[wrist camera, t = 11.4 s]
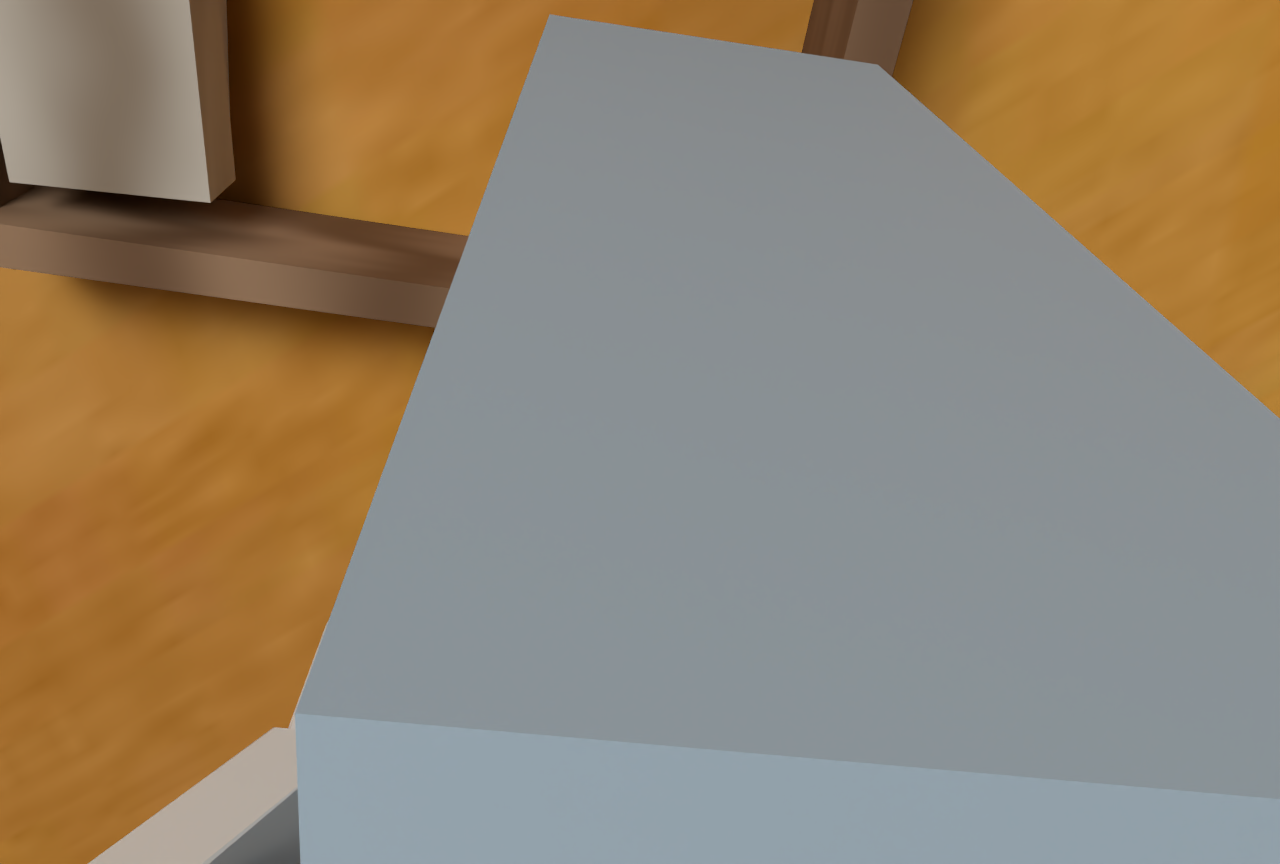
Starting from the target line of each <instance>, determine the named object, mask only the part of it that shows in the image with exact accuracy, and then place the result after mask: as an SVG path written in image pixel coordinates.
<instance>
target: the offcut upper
mask: <svg viewBox="0 0 1280 864" xmlns="http://www.w3.org/2000/svg"><path fill="white" fill-rule="evenodd" d="M0 139H1V144H2V149H3V153H4V158H5V163H6V168H7V173H8V177H9V182H12V183H22V184H32V185H42V186H51V187H61V188H71V189H81V190H90V191H100V192H110V193H119V194H129V195H139V196H149V197H158V198H168V199H178V200H188V201H197V202H207V203H211V202H212V201H213V200H214V199H215V198H216V197H217V196H219V195H220V194H221V193H222V192H223V191H224V190H225V189H226V188H227V187H228V186H230V185H231V184H232V183H233V182H234V181H235V180H236V177H235V166H234V155H233V144H232V133H231V122H230V112H229V101H228V90H227V79H226V68H225V57H224V46H223V35H222V24H221V13H220V2H219V0H0Z"/></svg>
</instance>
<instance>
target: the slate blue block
mask: <svg viewBox="0 0 1280 864" xmlns="http://www.w3.org/2000/svg"><path fill="white" fill-rule="evenodd" d="M295 729H296V757H297V784H298V811H299V838H300V864H1280V419H1279V418H1278V417H1277V416H1276V415H1275V414H1274V413H1273V412H1271V411H1270V410H1269V409H1268V408H1267V407H1266V406H1265V405H1264V404H1262V403H1261V402H1260V401H1259V400H1258V399H1257V398H1256V397H1254V396H1253V395H1252V394H1251V393H1250V392H1249V391H1248V390H1246V389H1245V388H1244V387H1243V386H1242V385H1241V384H1240V383H1239V382H1237V381H1236V380H1235V379H1234V378H1233V377H1232V376H1231V375H1229V374H1228V373H1227V372H1226V371H1225V370H1224V369H1223V368H1222V367H1220V366H1219V365H1218V364H1217V363H1216V362H1215V361H1214V360H1212V359H1211V358H1210V357H1209V356H1208V355H1207V354H1206V353H1204V352H1203V351H1202V350H1201V349H1200V348H1199V347H1198V346H1197V345H1195V344H1194V343H1193V342H1192V341H1191V340H1190V339H1189V338H1187V337H1186V336H1185V335H1184V334H1183V333H1182V332H1181V331H1180V330H1178V329H1177V328H1176V327H1175V326H1174V325H1173V324H1172V323H1170V322H1169V321H1168V320H1167V319H1166V318H1165V317H1164V316H1163V315H1161V314H1160V313H1159V312H1158V311H1157V310H1156V309H1155V308H1153V307H1152V306H1151V305H1150V304H1149V303H1148V302H1147V301H1145V300H1144V299H1143V298H1142V297H1141V296H1140V295H1139V294H1138V293H1136V292H1135V291H1134V290H1133V289H1132V288H1131V287H1130V286H1128V285H1127V284H1126V283H1125V282H1124V281H1123V280H1122V279H1121V278H1119V277H1118V276H1117V275H1116V274H1115V273H1114V272H1113V271H1111V270H1110V269H1109V268H1108V267H1107V266H1106V265H1105V264H1104V263H1102V262H1101V261H1100V260H1099V259H1098V258H1097V257H1096V256H1094V255H1093V254H1092V253H1091V252H1090V251H1089V250H1088V249H1086V248H1085V247H1084V246H1083V245H1082V244H1081V243H1080V242H1079V241H1077V240H1076V239H1075V238H1074V237H1073V236H1072V235H1071V234H1069V233H1068V232H1067V231H1066V230H1065V229H1064V228H1063V227H1062V226H1060V225H1059V224H1058V223H1057V222H1056V221H1055V220H1054V219H1052V218H1051V217H1050V216H1049V215H1048V214H1047V213H1046V212H1045V211H1043V210H1042V209H1041V208H1040V207H1039V206H1038V205H1037V204H1035V203H1034V202H1033V201H1032V200H1031V199H1030V198H1029V197H1027V196H1026V195H1025V194H1024V193H1023V192H1022V191H1021V190H1020V189H1018V188H1017V187H1016V186H1015V185H1014V184H1013V183H1012V182H1010V181H1009V180H1008V179H1007V178H1006V177H1005V176H1004V175H1003V174H1001V173H1000V172H999V171H998V170H997V169H996V168H995V167H993V166H992V165H991V164H990V163H989V162H988V161H987V160H985V159H984V158H983V157H982V156H981V155H980V154H979V153H978V152H976V151H975V150H974V149H973V148H972V147H971V146H970V145H968V144H967V143H966V142H965V141H964V140H963V139H962V138H961V137H959V136H958V135H957V134H956V133H955V132H954V131H953V130H951V129H950V128H949V127H948V126H947V125H946V124H945V123H944V122H942V121H941V120H940V119H939V118H938V117H937V116H936V115H934V114H933V113H932V112H931V111H930V110H929V109H928V108H926V107H925V106H924V105H923V104H922V103H921V102H920V101H919V100H917V99H916V98H915V97H914V96H913V95H912V94H911V93H909V92H908V91H907V90H906V89H905V88H904V87H903V86H902V85H900V84H899V83H898V82H897V81H896V80H895V79H894V78H892V77H891V76H890V75H889V74H888V73H887V72H886V71H885V70H883V69H882V68H881V67H880V66H879V65H877V64H870V63H864V62H857V61H851V60H844V59H838V58H831V57H825V56H818V55H812V54H805V53H798V52H792V51H785V50H779V49H772V48H766V47H759V46H753V45H746V44H740V43H733V42H726V41H720V40H713V39H707V38H700V37H694V36H687V35H681V34H674V33H668V32H661V31H654V30H648V29H641V28H635V27H628V26H622V25H615V24H609V23H602V22H596V21H589V20H582V19H576V18H569V17H563V16H556V15H549V18H548V21H547V23H546V26H545V29H544V31H543V34H542V37H541V40H540V42H539V45H538V48H537V51H536V53H535V56H534V59H533V62H532V64H531V67H530V70H529V73H528V75H527V78H526V81H525V84H524V86H523V89H522V92H521V95H520V97H519V100H518V103H517V106H516V108H515V111H514V114H513V117H512V119H511V122H510V125H509V127H508V130H507V133H506V136H505V138H504V141H503V144H502V147H501V149H500V152H499V155H498V158H497V160H496V163H495V166H494V169H493V171H492V174H491V177H490V180H489V182H488V185H487V188H486V191H485V193H484V196H483V199H482V202H481V204H480V207H479V210H478V213H477V215H476V218H475V221H474V223H473V226H472V229H471V232H470V234H469V237H468V240H467V243H466V245H465V248H464V251H463V254H462V256H461V259H460V262H459V265H458V267H457V270H456V273H455V276H454V278H453V281H452V284H451V287H450V289H449V292H448V295H447V298H446V300H445V303H444V306H443V309H442V311H441V314H440V317H439V320H438V322H437V325H436V328H435V330H434V333H433V336H432V339H431V341H430V344H429V347H428V350H427V352H426V355H425V358H424V361H423V363H422V366H421V369H420V372H419V374H418V377H417V380H416V383H415V385H414V388H413V391H412V394H411V396H410V399H409V402H408V405H407V407H406V410H405V413H404V416H403V418H402V421H401V424H400V426H399V429H398V432H397V435H396V437H395V440H394V443H393V446H392V448H391V451H390V454H389V457H388V459H387V462H386V465H385V468H384V470H383V473H382V476H381V479H380V481H379V484H378V487H377V490H376V492H375V495H374V498H373V501H372V503H371V506H370V509H369V512H368V514H367V517H366V520H365V522H364V525H363V528H362V531H361V533H360V536H359V539H358V542H357V544H356V547H355V550H354V553H353V555H352V558H351V561H350V564H349V566H348V569H347V572H346V575H345V577H344V580H343V583H342V586H341V588H340V591H339V594H338V597H337V599H336V602H335V605H334V608H333V610H332V613H331V616H330V618H329V621H328V624H327V627H326V629H325V632H324V635H323V638H322V640H321V643H320V646H319V649H318V651H317V654H316V657H315V660H314V662H313V665H312V668H311V671H310V673H309V676H308V679H307V682H306V684H305V687H304V690H303V693H302V695H301V698H300V701H299V704H298V706H297V709H296V712H295Z"/></svg>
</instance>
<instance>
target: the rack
mask: <svg viewBox="0 0 1280 864" xmlns="http://www.w3.org/2000/svg"><path fill="white" fill-rule="evenodd" d="M912 3H913V0H814V3H813V7H812V11H811V15H810V20H809V24H808V28H807V33H806V37H805V41H804V46H803V50H802V53H805V54H812V55H818V56H825V57H831V58H838V59H844V60H851V61H857V62H864V63H870V64H877V65H879V66H880V67H881V68H882V69H883V70H885V71H886V72H887V73H888V74H889V75H890V76H891V77H892V75H893V71H894V68H895V64H896V60H897V57H898V53H899V50H900V46H901V42H902V39H903V35H904V32H905V28H906V25H907V21H908V17H909V14H910V10H911V7H912ZM468 237H469V236H463V235H456V234H449V233H443V232H436V231H429V230H423V229H416V228H409V227H402V226H396V225H389V224H382V223H375V222H369V221H362V220H355V219H348V218H342V217H335V216H328V215H322V214H315V213H308V212H301V211H295V210H288V209H281V208H274V207H268V206H261V205H254V204H247V203H241V202H234V201H227V200H221V199H214V200H213V201H212V202H211V203H207V202H197V201H188V200H178V199H168V198H158V197H149V196H139V195H129V194H119V193H110V192H100V191H90V190H81V189H71V188H61V187H51V186H42V185H32V184H22V183H12V182H9V177H8V173H7V168H6V163H5V158H4V153H3V149H2V144H1V139H0V267H3V268H11V269H18V270H25V271H32V272H39V273H46V274H54V275H61V276H68V277H75V278H82V279H89V280H97V281H104V282H111V283H118V284H125V285H133V286H140V287H147V288H154V289H161V290H168V291H176V292H183V293H190V294H197V295H204V296H211V297H219V298H226V299H233V300H240V301H247V302H254V303H262V304H269V305H276V306H283V307H290V308H297V309H305V310H312V311H319V312H326V313H333V314H340V315H348V316H355V317H362V318H369V319H376V320H383V321H391V322H398V323H405V324H412V325H419V326H427V327H434V328H436V325H437V322H438V320H439V317H440V314H441V311H442V309H443V306H444V303H445V300H446V298H447V295H448V292H449V289H450V287H451V284H452V281H453V278H454V276H455V273H456V270H457V267H458V265H459V262H460V259H461V256H462V254H463V251H464V248H465V245H466V243H467V240H468Z"/></svg>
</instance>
